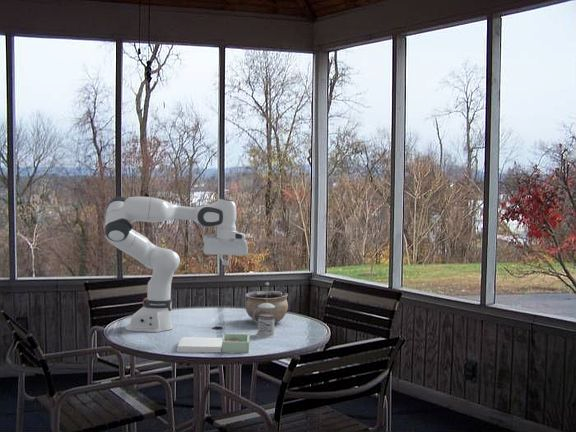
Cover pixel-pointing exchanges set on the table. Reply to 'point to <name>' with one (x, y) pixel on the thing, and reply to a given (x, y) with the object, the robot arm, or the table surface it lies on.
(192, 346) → the white square board
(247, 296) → the ceramic bowl
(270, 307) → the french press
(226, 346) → the tray
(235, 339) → the walnut tile
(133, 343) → the table surface
